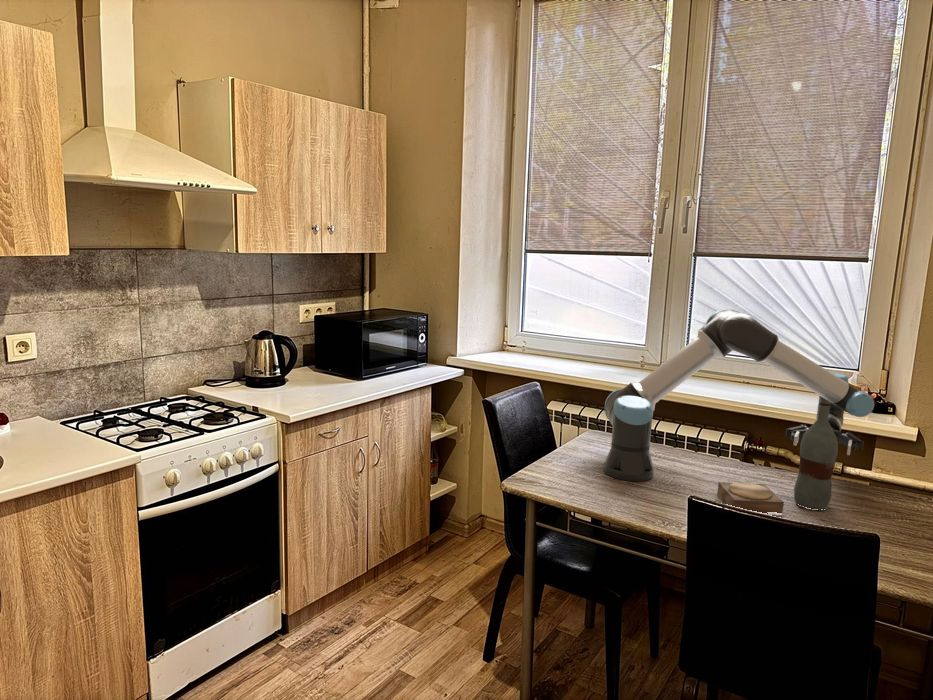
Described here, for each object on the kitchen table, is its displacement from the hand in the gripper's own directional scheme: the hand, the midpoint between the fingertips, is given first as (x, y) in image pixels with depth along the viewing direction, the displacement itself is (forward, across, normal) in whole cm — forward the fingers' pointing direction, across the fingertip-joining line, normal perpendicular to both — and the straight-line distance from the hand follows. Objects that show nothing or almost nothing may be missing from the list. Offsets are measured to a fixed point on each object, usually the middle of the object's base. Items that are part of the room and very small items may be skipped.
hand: (821, 445), depth 188 cm
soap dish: (+17, +15, -16) cm, 28 cm away
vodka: (+7, 0, -16) cm, 17 cm away
